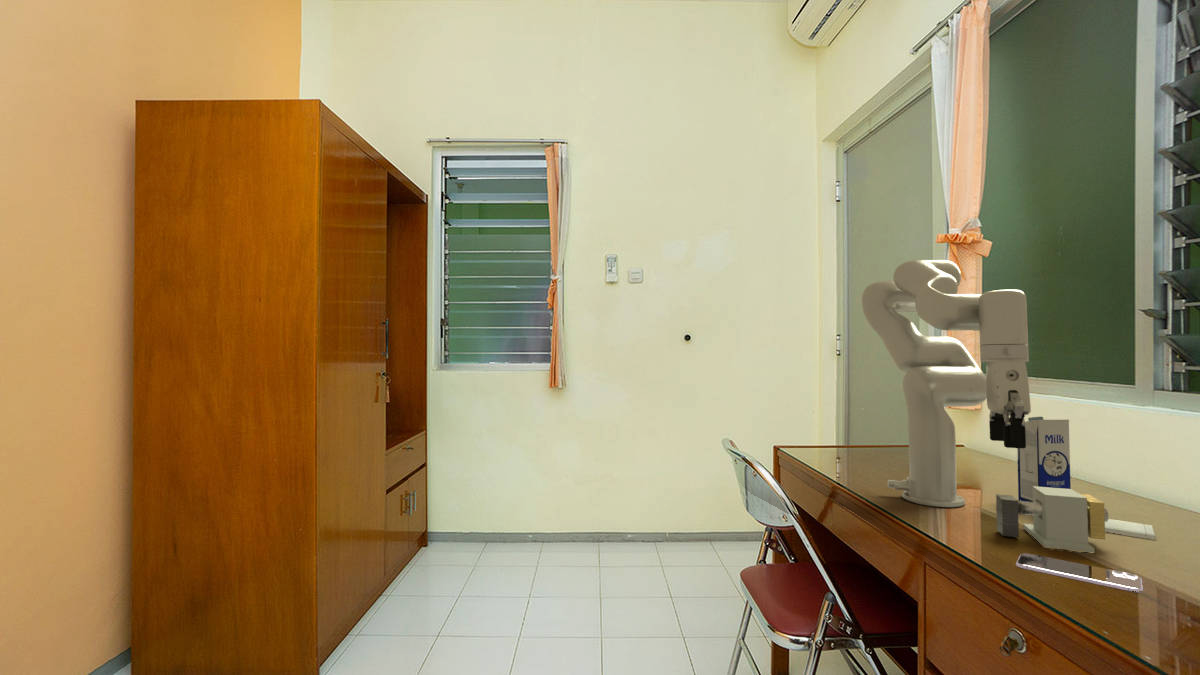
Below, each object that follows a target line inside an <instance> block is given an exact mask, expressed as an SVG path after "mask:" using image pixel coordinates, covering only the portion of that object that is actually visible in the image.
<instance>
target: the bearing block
mask: <svg viewBox="0 0 1200 675" xmlns="http://www.w3.org/2000/svg"><path fill="white" fill-rule="evenodd" d="M1032 488H1033V502H1038V503H1042V516H1036V515H1032V517H1033V518H1032V520H1033V521H1032V522H1033V523H1032V524H1031V523H1023V524H1022V529H1023V528H1024V529H1025V530H1026V531H1027V532H1028V533H1029V534H1028V533H1027V532H1026V531H1025V530H1024V529H1023V530H1024V531H1025V532H1026V533H1027V534H1028V535H1030V534H1031V535H1032V536H1033V537H1034V538H1035V539H1036V540H1037V541H1038V542H1039V543H1041V544H1042V545H1043V546H1044V547H1046V548H1057V549H1067V550H1074V551H1084V552H1093V553H1095V547H1094V546H1093V545H1091V544H1090V543H1089V536H1088V518H1087V498H1086V497H1084V496H1082V495H1081V494H1082V493H1079V492H1077V491H1075V490H1074V489H1072V488H1071V489H1064V488H1050V487H1036V486H1032ZM1031 535H1030V536H1031ZM1032 536H1031V537H1032ZM1033 537H1032V538H1033ZM1034 538H1033V539H1034ZM1035 539H1034V540H1035ZM1036 540H1035V541H1036ZM1037 541H1036V542H1037ZM1038 542H1037V543H1038ZM1039 543H1038V544H1039ZM1043 546H1042V547H1043ZM1044 547H1043V548H1044Z"/></svg>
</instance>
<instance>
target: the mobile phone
mask: <svg viewBox="0 0 1200 675" xmlns="http://www.w3.org/2000/svg"><path fill="white" fill-rule="evenodd" d="M1015 566H1016V567H1018V568H1021V569H1024V570H1028V571H1034V572H1038V573H1043V574H1047V575H1052V576H1056V577H1057V576H1058V577H1062V578H1067V579H1072V580H1076V581H1081V582H1085V583H1090V584H1094V585H1099V586H1105V587H1108V588H1109V587H1110V588H1113V589H1119V590H1122V591H1127V592H1132V591H1134V592H1133V593H1140V592H1139V591H1143V592H1144V586H1143V585H1144V584H1143V585H1142V583H1143V579H1142V578H1143V577H1141V576H1139V575H1137V574H1134V573H1130V572H1129V573H1128V572H1124V571H1119V570H1113V569H1108V568H1103V567H1098V566H1093V565H1087V564H1084V563H1078V562H1074V561H1073V562H1072V561H1069V560H1062V559H1058V558H1053V557H1047V556H1043V555H1038V554H1034V553H1033V554H1032V553H1028V552H1026V553H1025V552H1024V553H1020V555H1019V556H1018V558H1017V560H1016V563H1015ZM1135 591H1136V592H1135Z"/></svg>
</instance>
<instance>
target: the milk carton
mask: <svg viewBox="0 0 1200 675" xmlns="http://www.w3.org/2000/svg"><path fill="white" fill-rule="evenodd" d="M1025 433H1026V448H1016V450H1017V453H1016V454H1017V491H1018V496H1017V500H1018V501H1019V500H1021V501H1026V502H1033V488H1032V486H1036V487H1050V488H1064V489H1072V488H1071V459H1070V458H1071V453H1070V452H1071V451H1070V450H1071V449H1070V448H1071V447H1070V419H1044V417H1043V416H1032V417H1028V420H1026V421H1025Z"/></svg>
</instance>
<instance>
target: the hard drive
mask: <svg viewBox="0 0 1200 675" xmlns="http://www.w3.org/2000/svg"><path fill="white" fill-rule="evenodd" d="M1107 532H1109V533H1108V534H1113V533H1115V534H1114V535H1119V534H1121V536H1128V537H1133V538H1138V539H1139V538H1140V539H1146V540H1152V541H1156V534H1155V531H1154V527H1153V525H1151V524H1143V523H1139V522H1133V521H1127V520H1125V521H1124V520H1118V519H1114V518H1113V519H1111V518H1108V521H1107V522H1105V533H1107Z"/></svg>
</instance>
